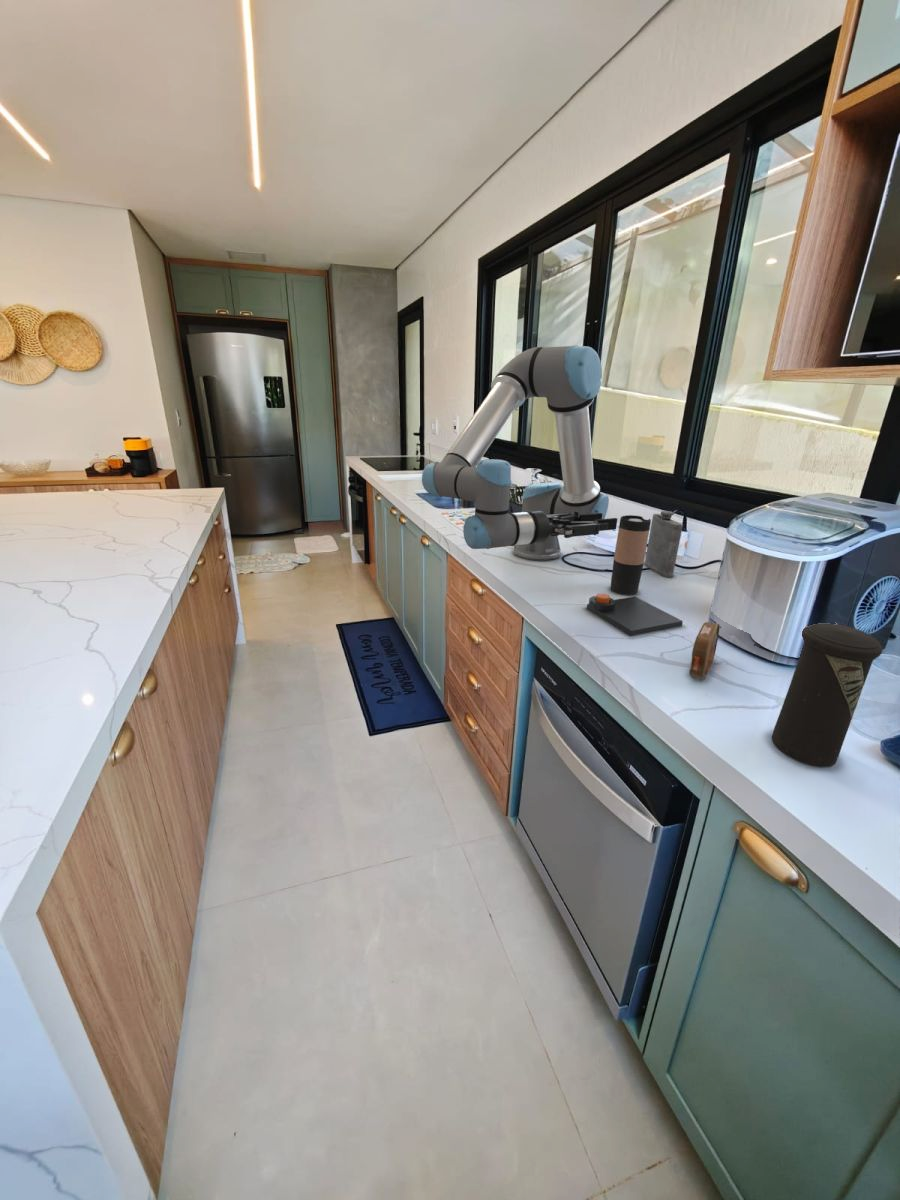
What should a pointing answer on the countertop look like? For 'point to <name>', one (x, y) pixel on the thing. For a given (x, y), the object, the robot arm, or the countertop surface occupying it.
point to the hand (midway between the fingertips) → (608, 521)
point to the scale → (633, 615)
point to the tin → (704, 650)
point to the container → (824, 692)
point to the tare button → (602, 598)
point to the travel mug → (629, 554)
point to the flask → (663, 544)
